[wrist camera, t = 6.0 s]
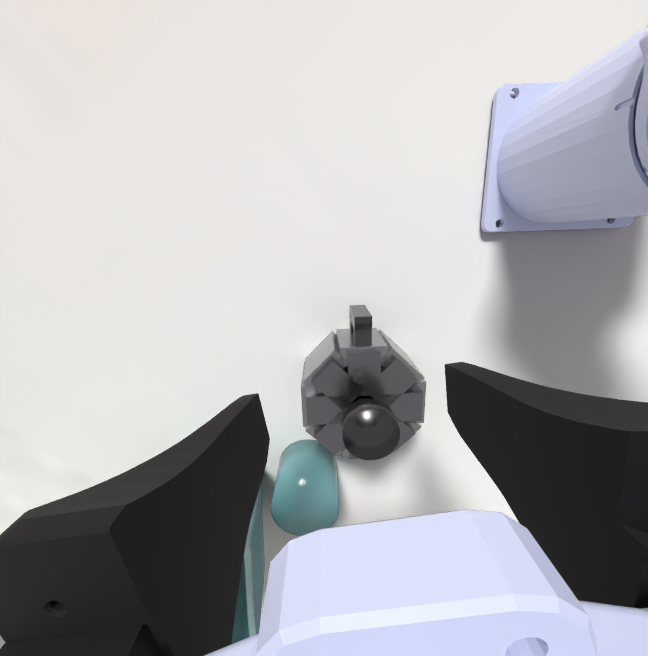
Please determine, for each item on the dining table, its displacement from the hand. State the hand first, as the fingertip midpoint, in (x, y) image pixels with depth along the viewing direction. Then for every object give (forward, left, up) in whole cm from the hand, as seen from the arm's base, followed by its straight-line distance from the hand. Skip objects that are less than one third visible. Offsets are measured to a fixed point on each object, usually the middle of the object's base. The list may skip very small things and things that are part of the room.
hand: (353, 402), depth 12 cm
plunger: (-1, +4, -9) cm, 10 cm away
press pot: (-1, +4, -10) cm, 11 cm away
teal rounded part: (+3, +11, -10) cm, 16 cm away
